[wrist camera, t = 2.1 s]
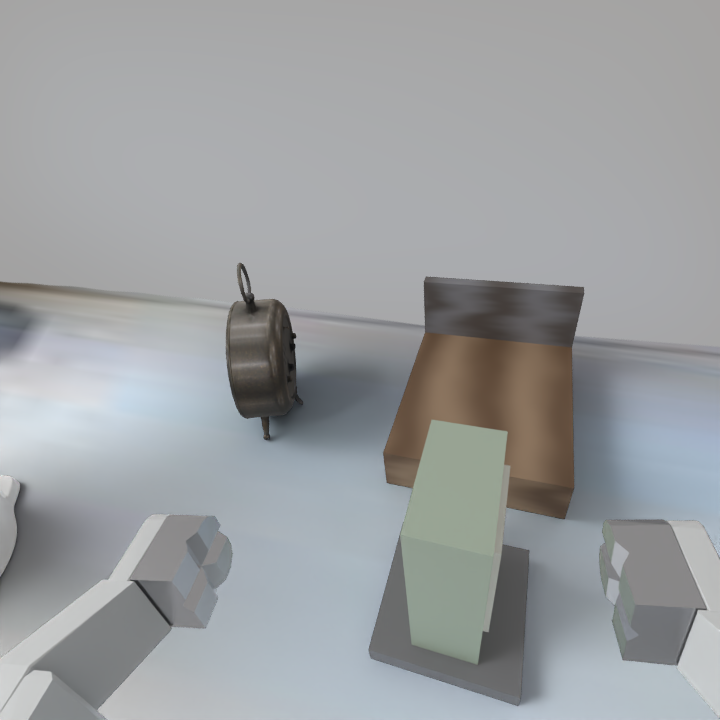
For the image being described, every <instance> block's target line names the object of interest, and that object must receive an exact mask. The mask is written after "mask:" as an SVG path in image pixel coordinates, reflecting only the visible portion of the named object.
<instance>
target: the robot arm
mask: <svg viewBox="0 0 720 720" xmlns="http://www.w3.org/2000/svg"><path fill="white" fill-rule="evenodd" d="M19 490H20V483H19V482H18V481H17V480H15V479H14V478H13V477H11V476H6V475H0V576H1V575H2V573H3V571H4V569H5V568H6V566H7V564H8V562H9V560H10V557H11V555H12V552H13V549H14V546H15V542H16V537H17V523H16V519H15V514H14V505H15V502H16V500H17V497H18V494H19ZM219 527H220V524H219V522H218V520H217V519H216V517H215V516H199V515H174V514H152V515H151V516H150V517H149V518H147V519H146V520H145V522H144V523H143V525H142V526H141V528H140V529H139V531H138V533H137V534H136V536H135V537H134V539H133V541H132V542H131V544H130V545H129V547H128V549H127V550H126V552H125V553H124V555H123V556H122V558H121V560H120V561H119V563H118V564H117V566H116V568H115V569H114V571H113V572H112V574H111V576H110V577H109V579H102V580H101V581H100V582H98V583H97V584H96V585H95V586H93V587H92V588H91V589H89V590H88V591H87V592H85V593H84V594H83V595H82V596H80V597H79V598H78V599H76V600H75V601H74V602H72V603H71V604H70V605H69V606H67V607H66V608H65V609H63V610H62V611H61V612H59V613H58V614H57V615H56V616H54V617H53V618H52V619H50V620H49V621H48V622H47V623H45V624H44V625H43V626H41V627H40V628H39V629H37V630H36V631H35V632H34V633H32V634H31V635H30V636H28V637H27V638H26V639H24V640H23V641H22V642H21V643H19V644H18V645H17V646H15V647H14V648H13V649H11V650H10V651H9V652H8V653H6V654H5V655H4V656H2V657H1V658H0V720H107V719H106V718H105V717H104V716H103V715H101V714H100V713H99V712H98V711H97V710H98V708H99V707H100V706H101V705H102V704H103V703H104V702H105V701H106V700H107V699H108V698H109V697H110V696H111V694H112V693H113V692H114V691H115V690H116V689H117V688H118V687H119V686H120V685H121V684H122V683H123V681H124V680H125V679H126V678H127V677H128V676H129V675H130V674H131V673H132V672H133V671H134V670H135V668H136V667H137V666H138V665H139V664H140V663H141V662H142V661H143V660H144V659H145V658H146V657H147V656H148V654H149V653H150V652H151V651H152V650H153V649H154V648H155V647H156V646H157V645H158V644H159V643H160V641H161V640H162V639H163V638H164V637H165V636H166V635H167V634H168V633H169V632H170V631H171V630H172V628H171V627H186V628H206V627H207V624H208V622H209V619H210V617H211V615H212V612H213V610H214V607H215V605H216V603H217V600H218V595H217V591H216V588H217V587H218V586H219V585H220V584H221V583H223V582H224V581H225V580H226V578H227V576H228V573H229V570H230V568H231V562H232V554H233V553H232V548H231V543H230V542H229V540H228V538H227V537H226V536H225V535H223V534H222V533H220V532H219V531H218V529H219ZM602 533H603V536H604V540H605V543H604V544H603V545H601V546H600V553H599V563H600V574H601V579H602V584H603V588H604V592H605V596H606V598H607V599H608V600H609V601H610V602H611V603H612V604H613V605H614V606H615V608H614V614H613V620H612V622H613V626H614V630H615V633H616V637H617V641H618V644H619V648H620V652H621V655H622V659H623V660H627V661H637V662H647V663H657V664H667V665H677V669H678V670H679V671H680V673H681V674H682V675H683V676H684V677H685V678H686V680H687V681H688V682H689V683H690V684H691V686H692V687H693V688H694V689H695V690H696V691H697V693H698V694H699V695H700V696H701V697H702V698H703V700H704V701H705V702H706V703H707V704H708V705H709V707H710V708H711V709H712V710H713V711H714V712H715V714H716V715H717V716H718V717H719V718H720V557H719V555H718V553H717V551H716V549H715V548H714V546H713V544H712V542H711V540H710V538H709V536H708V534H707V532H706V530H705V528H704V526H703V525H702V524H701V523H700V522H699V521H694V520H686V521H664V520H605V522H604V523H603V529H602Z"/></svg>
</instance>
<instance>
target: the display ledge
mask: <svg viewBox="0 0 720 720" xmlns="http://www.w3.org/2000/svg"><path fill="white" fill-rule="evenodd" d="M583 296H584V287H574V286H559V285H544V284H529V283H514V282H499V281H484V280H469V279H454V278H438V277H426V278H425V281H424V306H425V334H424V337H423V340H422V343H421V346H420V349H419V352H418V354H417V357H416V360H415V363H414V366H413V369H412V372H411V375H410V377H409V380H408V383H407V386H406V389H405V392H404V395H403V398H402V400H401V403H400V406H399V409H398V412H397V415H396V418H395V421H394V423H393V426H392V429H391V432H390V435H389V438H388V441H387V444H386V446H385V449H384V452H383V455H384V463H385V471H386V480H387V483H390V484H395V485H400V486H405V487H410V488H413V486H414V482H415V479H416V475H417V471H418V468H419V464H420V460H421V457H422V453H423V449H424V446H425V442H426V438H427V435H428V431H429V427H430V424H431V420H438V421H444V422H450V423H457V424H463V425H469V426H476V427H482V428H488V429H495V430H501V431H507V432H508V434H507V442H506V451H505V460H504V465H509V466H510V475H509V485H508V495H507V505H506V507H507V508H512V509H517V510H522V511H527V512H532V513H537V514H542V515H546V516H551V517H556V518H561V519H565V516H566V513H567V510H568V506H569V503H570V500H571V497H572V493H573V490H574V453H573V392H572V344H573V340H574V336H575V331H576V327H577V322H578V318H579V314H580V309H581V305H582V300H583Z"/></svg>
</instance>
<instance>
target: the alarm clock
mask: <svg viewBox="0 0 720 720" xmlns="http://www.w3.org/2000/svg"><path fill="white" fill-rule="evenodd" d="M241 269H242V271H243V273H244V275H245V277H246V282H247V288H248V293H246V294H245V292H244V288H243V283H242V278H241ZM237 276H238V283H239V286H240V291H241V294H242V296H243V299H244V301H240V302H239V301H237V302H235V303H234V304H233V305H232V306H231V308H230V311H229V315H228V320H227V329H226V359H227V369H228V376H229V381H230V387H231V391H232V395H233V399H234V402H235V404H236V407H237V409H238V411H239V413H240V414H241V415H242V416H243V417H244V418H247V419H248V418H254V417H261V419H262V426H263V430H264V439H265V440H269V439H270V435H269V416H279V415H285V414H286V413H288V412H289V411H290V409H291V408H292V406H293V404H294V400H296V401H297V402H298V403H299V404H302V405H303V402H302V400H301V399H300V398H299V397H298V395H297V387H296V359H295V344H294V338H296V334H295V333H293V332H292V327H291V322H290V319H289V315H288V312H287V310H286V308H285V307H284V305H283V304H282V303H281V302H279V301H278V300H275V299H266V300H254V295H253V294H252V293H251V287H250V281H249V278H248V274H247V271H246V269H245V267H244V265H243V264H242V263H239V264H238V265H237Z"/></svg>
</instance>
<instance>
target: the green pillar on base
mask: <svg viewBox="0 0 720 720" xmlns="http://www.w3.org/2000/svg"><path fill="white" fill-rule="evenodd" d="M507 434H508V432H507V431H501V430H495V429H488V428H482V427H476V426H469V425H463V424H457V423H450V422H444V421H438V420H431V424H430V427H429V431H428V435H427V438H426V442H425V446H424V449H423V453H422V457H421V460H420V464H419V468H418V471H417V475H416V479H415V482H414V486H413V490H412V493H411V497H410V501H409V504H408V508H407V512H406V516H405V519H404V522H403V525H402V529H401V532H400V536H399V540H398V543H397V547H396V551H395V554H394V558H393V562H392V565H391V569H390V573H389V576H388V580H387V584H386V587H385V591H384V595H383V598H382V602H381V606H380V609H379V613H378V617H377V620H376V624H375V628H374V631H373V635H372V639H371V642H370V646H369V654H370V657H371V658H372V659H375V660H378V661H381V662H384V663H387V664H390V665H393V666H396V667H399V668H402V669H406V670H409V671H412V672H415V673H418V674H421V675H424V676H427V677H430V678H433V679H436V680H440V681H443V682H446V683H449V684H452V685H455V686H458V687H461V688H464V689H467V690H470V691H474V692H477V693H480V694H483V695H486V696H489V697H492V698H495V699H498V700H501V701H504V702H508V703H511V704H514V705H517V706H518V705H519V702H520V699H521V686H522V669H523V651H524V634H525V617H526V599H527V582H528V564H529V550H525V549H521V548H516V547H512V546H507V545H503V534H504V524H505V514H506V505H507V495H508V485H509V475H510V466H509V465H504V460H505V451H506V442H507Z"/></svg>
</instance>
